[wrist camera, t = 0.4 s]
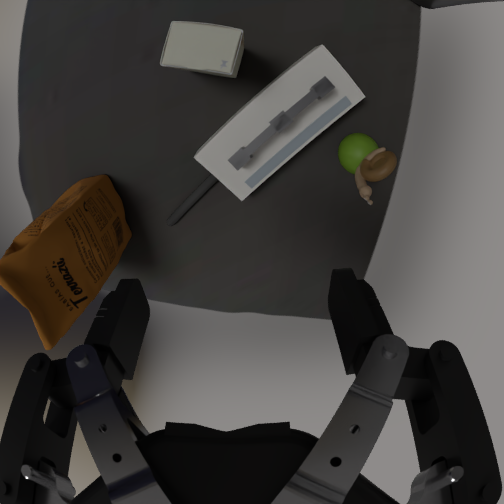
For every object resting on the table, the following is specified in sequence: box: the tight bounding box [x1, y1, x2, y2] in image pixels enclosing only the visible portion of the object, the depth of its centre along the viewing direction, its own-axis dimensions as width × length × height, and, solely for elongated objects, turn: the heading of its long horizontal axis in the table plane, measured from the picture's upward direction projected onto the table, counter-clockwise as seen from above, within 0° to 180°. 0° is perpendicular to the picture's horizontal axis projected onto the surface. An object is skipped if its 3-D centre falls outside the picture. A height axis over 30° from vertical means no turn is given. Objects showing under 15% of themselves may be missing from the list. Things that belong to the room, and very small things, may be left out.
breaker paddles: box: [228, 76, 335, 171], centre depth 29 cm, size 14×2×2 cm, turn 134°
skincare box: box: [160, 21, 244, 78], centre depth 23 cm, size 6×4×12 cm
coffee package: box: [0, 175, 132, 350], centre depth 30 cm, size 10×12×22 cm
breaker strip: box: [167, 45, 365, 226], centre depth 33 cm, size 31×8×4 cm, turn 134°
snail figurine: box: [338, 133, 397, 205], centre depth 31 cm, size 5×6×12 cm
